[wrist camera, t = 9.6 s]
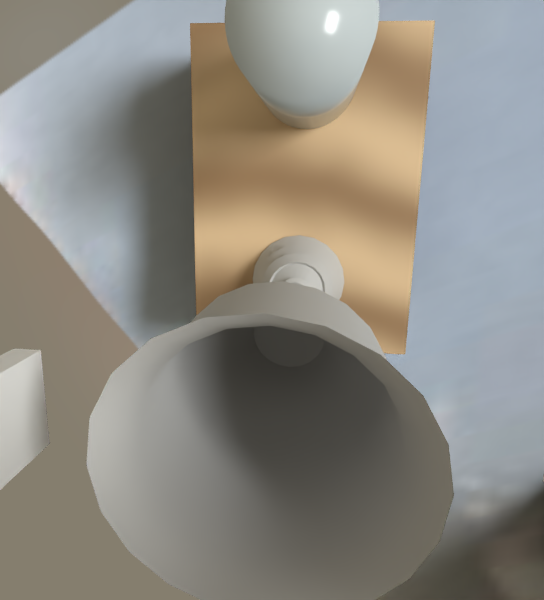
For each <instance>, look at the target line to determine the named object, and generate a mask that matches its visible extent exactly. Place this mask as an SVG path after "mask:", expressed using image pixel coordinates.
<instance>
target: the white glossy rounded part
mask: <svg viewBox="0 0 544 600" xmlns="http://www.w3.org/2000/svg"><path fill="white" fill-rule="evenodd" d="M378 22H379V2H378V0H227V1H226V7H225V31H226V37H227V42H228V45H229V48H230V51H231V54H232V56H233V58H234V60H235V62H236V64H237V65H238V67H239V69H240V70H241V72H242V73H243V74H244V76H245V77H246V79H247V80H248V81H249V83H250V84H251V86H252V87H253V88H254V90H255V91H256V93H257V94H258V95H259V97H260V98H261V99H262V101H263V102H264V104H265V105H266V106H267V108H268V109H269V110H270V112H271V113H272V114H273V115H274V116H275V117H276V118H277V119H278V120H280V121H281V122H283V123H285V124H286V125H288V126H291V127H294V128H299V129H315V128H319V127H322V126H325V125H327V124H329V123H331V122H332V121H334V120H335V119H337V118H338V117H339V116H340V115H341V114H342V113H343V112H344V111H345V110H346V109H347V107H348V106H349V104H350V102H351V100H352V99H353V96H354V94H355V91H356V88H357V86H358V83H359V81H360V78H361V75H362V73H363V70H364V68H365V65H366V62H367V60H368V57H369V54H370V52H371V49H372V46H373V44H374V41H375V38H376V33H377V29H378Z"/></svg>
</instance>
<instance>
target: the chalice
mask: <svg viewBox="0 0 544 600" xmlns="http://www.w3.org/2000/svg"><path fill="white" fill-rule="evenodd" d="M343 287H344V274H343V268H342V266H341V264H340V261H339V259H338V257H337V255H336V254H335V253H334V252H333V251H332V250H331V249H330V248H329V247H328V246H327V245H326V244H324V243H322V242H320V241H319V240H317V239H315V238H311V237H306V236H301V235H297V236H289V237H284V238H282V239H280V240H278V241H275V242H273V243H272V244H270V245H269V246H268V247H267V248H266V249H265V250H264V251H263V252H262V253H261V255H260V257H259V259H258V260H257V262H256V264H255V268H254V273H253V284H248V285H245V286H243V287H240V288H238V289H235V290H233V291H230V292H228V293H225V294H223V295H220V296H218V297H217V298H216V299H215V300H214V301H213V302H211V303H210V304H209V305H208V306H207V307H206V308H205V309H203V310H202V311H201V312H200V313H199V314H198V315H197V316H195V318H194V319H193V320H192V321H191V322H190V323H189V324H186V325H184V326H181V327H179V328H176V329H174V330H171V331H169V332H166V333H164V334H161V335H159V336H156V337H154V338H151V339H150V340H149V341H148V342H146V343H145V344H144V345H143V346H142V347H141V348H140V349H139V350H137V351H136V352H135V353H134V354H133V355H132V356H131V357H130V358H128V359H127V360H126V361H125V362H124V363H123V364H122V365H121V366H119V367H118V368H117V369H116V370H115V371H114V372H113V373H112V374H111V376H110V377H109V379H108V382H107V384H106V386H105V388H104V390H103V392H102V394H101V396H100V398H99V400H98V402H97V404H96V406H95V408H94V410H93V412H92V414H91V416H90V421H89V436H88V451H87V468H88V471H89V475H90V478H91V481H92V484H93V488H94V491H95V494H96V497H97V500H98V504H99V507H100V510H101V512H102V514H103V515H104V517H105V518H106V519H107V521H108V522H109V524H110V525H111V527H112V528H113V529H114V531H115V532H116V534H117V535H118V536H119V537H120V539H121V541H122V542H123V544H124V545H125V546H126V548H127V549H128V551H129V552H130V553H131V554H133V555H134V556H135V557H136V558H137V559H139V560H140V561H141V562H142V563H143V564H145V565H146V566H147V567H148V568H149V569H151V570H152V571H153V572H154V573H156V574H157V575H158V576H159V577H161V578H162V579H163V580H164V581H165V582H166V583H168V584H169V585H171V586H174V587H175V588H177V589H180V590H182V591H184V592H186V593H188V594H190V595H192V596H194V597H196V598H198V599H200V600H376V599H378V598H379V597H381V596H383V595H384V594H386V593H388V592H389V591H391V590H393V589H394V588H396V587H398V586H399V585H401V584H402V583H404V582H406V581H407V580H409V579H410V577H411V576H412V575H413V574H414V573H415V571H416V570H417V569H418V568H419V566H420V565H421V564H422V563H423V562H424V560H425V559H426V558H427V557H428V556H429V554H430V553H431V552H432V551H433V549H434V548H435V547H436V546H437V545H438V543H439V542H440V539H441V535H442V532H443V529H444V526H445V522H446V519H447V516H448V513H449V509H450V506H451V503H452V500H453V496H454V493H453V483H452V474H451V464H450V454H449V445H448V443H447V441H446V439H445V437H444V435H443V433H442V431H441V429H440V427H439V425H438V423H437V421H436V419H435V418H434V416H433V414H432V412H431V410H430V408H429V406H428V404H427V402H426V400H425V398H424V396H423V395H422V394H421V393H420V392H419V391H418V390H417V389H416V388H415V387H414V386H413V385H412V384H411V383H410V382H409V381H408V380H406V379H405V378H404V377H403V376H402V375H401V374H400V373H399V372H398V371H397V370H396V369H395V368H394V367H393V366H392V365H391V364H390V363H389V362H388V361H387V359H386V357H385V355H384V353H383V351H382V349H381V347H380V345H379V343H378V341H377V339H376V337H375V335H374V333H373V331H372V330H371V328H370V326H369V325H367V324H366V323H365V322H364V321H363V320H362V319H361V318H360V317H359V316H358V315H357V314H356V313H355V312H354V311H353V310H352V309H351V308H350V307H349V306H348V305H347V304H345V303H344V302H342V301H340V300H339V299H340V298H341V296H342V291H343Z"/></svg>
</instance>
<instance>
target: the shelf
mask: <svg viewBox="0 0 544 600" xmlns="http://www.w3.org/2000/svg"><path fill="white" fill-rule="evenodd" d="M434 24H435V21H379V22H378V29H377V33H376V38H375V41H374V44H373V46H372V49H371V52H370V54H369V57H368V60H367V62H366V65H365V68H364V70H363V73H362V75H361V78H360V81H359V83H358V86H357V88H356V91H355V94H354V96H353V99H352V100H351V102H350V104H349V106H348V107H347V109H346V110H345V111H344V112H343V113H342V114H341V115H340V116H339V117H338V118H337V119H335V120H334V121H332V122H331V123H329V124H327V125H325V126H322V127H319V128H315V129H299V128H294V127H291V126H288V125H286V124H285V123H283V122H281V121H280V120H278V119H277V118H276V117H275V116H274V115H273V114H272V113H271V112H270V110H269V109H268V108H267V106H266V105H265V104H264V102H263V101H262V99H261V98H260V97H259V95H258V94H257V93H256V91H255V90H254V88H253V87H252V86H251V84H250V83H249V81H248V80H247V79H246V77H245V76H244V74H243V73H242V72H241V70H240V69H239V67H238V65H237V64H236V62H235V60H234V58H233V56H232V54H231V51H230V48H229V45H228V42H227V37H226V31H225V23H190V38H191V86H192V135H193V183H194V232H195V281H196V316H197V315H198V314H199V313H200V312H201V311H202V310H203V309H205V308H206V307H207V306H208V305H209V304H210V303H211V302H213V301H214V300H215V299H216V298H217V297H218V296H220V295H223V294H225V293H228V292H230V291H233V290H235V289H238V288H240V287H243V286H245V285H248V284H253V273H254V268H255V264H256V262H257V260H258V259H259V257H260V255H261V253H262V252H263V251H264V250H265V249H266V248H267V247H268V246H269V245H270V244H272V243H273V242H275V241H278V240H280V239H282V238H284V237H289V236H297V235H301V236H306V237H311V238H315V239H317V240H319V241H320V242H322V243H324V244H326V245H327V246H328V247H329V248H330V249H331V250H332V251H333V252H334V253H335V254H336V255H337V257H338V259H339V261H340V264H341V266H342V268H343V274H344V287H343V291H342V296H341V298H340V299H339V300H340V301H342V302H344V303H345V304H347V305H348V306H349V307H350V308H351V309H352V310H353V311H354V312H355V313H356V314H357V315H358V316H359V317H360V318H361V319H362V320H363V321H364V322H365V323H366V324H367V325H369V326H370V328H371V330H372V331H373V333H374V335H375V337H376V339H377V341H378V343H379V345H380V347H381V349H382V351H383V353H389V354H405V350H406V338H407V327H408V316H409V305H410V294H411V282H412V271H413V260H414V249H415V237H416V226H417V215H418V204H419V192H420V181H421V170H422V159H423V148H424V136H425V125H426V114H427V103H428V91H429V80H430V69H431V58H432V47H433V35H434Z"/></svg>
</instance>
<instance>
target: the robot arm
mask: <svg viewBox="0 0 544 600" xmlns="http://www.w3.org/2000/svg"><path fill="white" fill-rule="evenodd" d="M49 444H50V442H49V432H48V421H47V411H46V400H45V389H44V379H43V368H42V358H41V350H32V349H12V350H10V351H8V352H6V353H4V354H2V355H0V490H1V489H2V488H3V487H4V486H5V485H6V484H7V483H8V482H9V481H10V480H11V479H12V478H13V477H14V476H15V475H17V474H18V473H19V472H20V471H21V470H22V469H23V468H24V467H25V466H26V465H27V464H29V463H30V462H31V461H32V460H33V459H34V458H35V457H36V456H37V455H38V454H39V453H40V452H41V451H42V450H44V449H45V448H46V446H48V445H49ZM543 482H544V476H543Z"/></svg>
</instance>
